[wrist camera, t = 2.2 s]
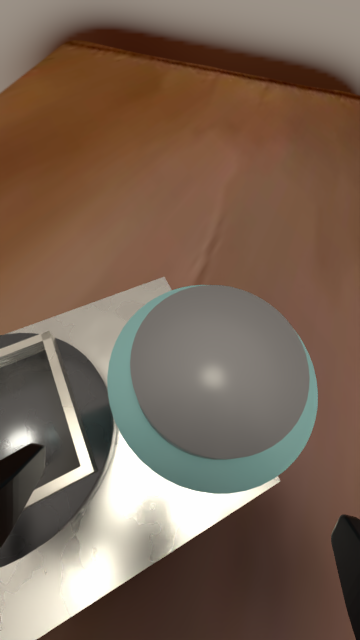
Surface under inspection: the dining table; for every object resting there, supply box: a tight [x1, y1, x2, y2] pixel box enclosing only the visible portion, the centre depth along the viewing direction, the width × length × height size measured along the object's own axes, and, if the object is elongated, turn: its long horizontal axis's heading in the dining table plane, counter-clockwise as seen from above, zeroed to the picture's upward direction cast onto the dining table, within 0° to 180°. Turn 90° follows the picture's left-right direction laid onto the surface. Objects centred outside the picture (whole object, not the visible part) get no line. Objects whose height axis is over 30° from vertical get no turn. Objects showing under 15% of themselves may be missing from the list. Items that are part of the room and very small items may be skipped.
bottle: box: [107, 285, 318, 494], centre depth 13 cm, size 6×6×13 cm
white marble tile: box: [0, 277, 280, 640], centre depth 16 cm, size 17×22×5 cm
